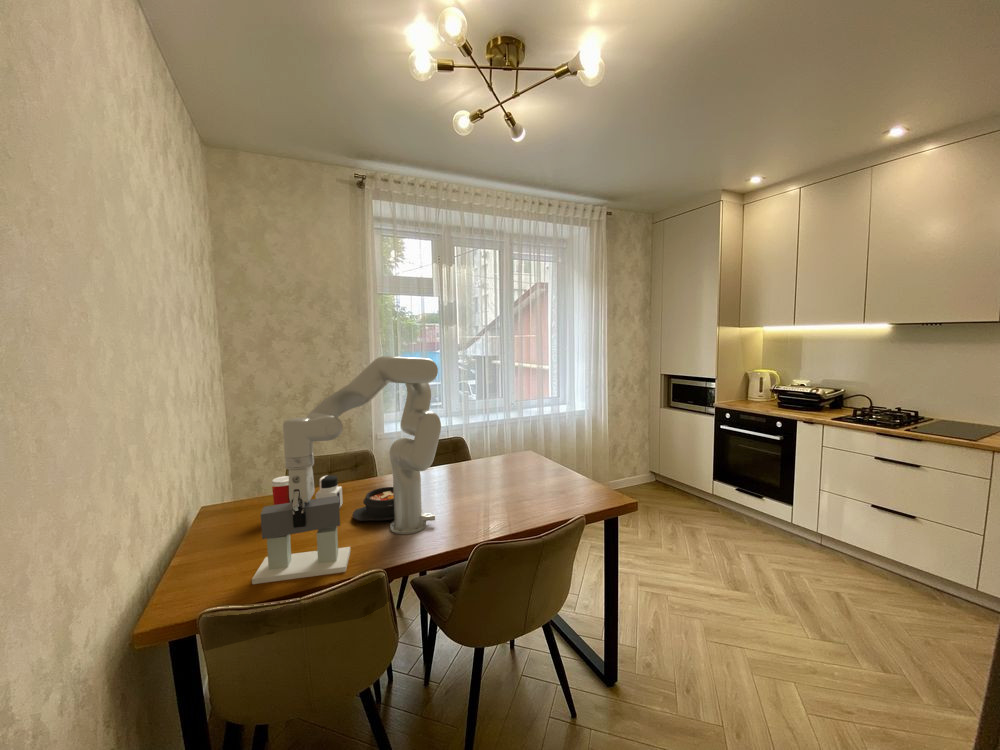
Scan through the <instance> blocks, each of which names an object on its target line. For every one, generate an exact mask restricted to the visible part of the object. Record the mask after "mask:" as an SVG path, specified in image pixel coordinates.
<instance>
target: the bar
mask: <svg viewBox="0 0 1000 750" xmlns="http://www.w3.org/2000/svg"><path fill="white" fill-rule="evenodd" d="M299 502H302V501H299ZM292 505H293V504H291V503H285V504H278V505H274V504H273V505H272V504H271V505H266V506H263V507H262V510H261V512H260V526H261V528H260V529H261V540H265V539H266V540H267V538H272V537H278V536H284V535H289V534H290V535H295V534H301V533H305V532H311V531H316V530H317V531H318V529H324V528H329V527H335V526H337V527H339V526H341V517H340V516H341V515H340V508H339V496H332V497H325V498H318V499H316V498H315V499H314V498H311V499H310V501H309V502H308V503H306V502H305V505H304V512H306V526H305V527H297V528H294V527H293V507H292ZM299 506H300V507H302V504H299Z"/></svg>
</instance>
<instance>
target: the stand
mask: <svg viewBox="0 0 1000 750" xmlns="http://www.w3.org/2000/svg"><path fill="white" fill-rule="evenodd" d="M338 535H339V534H338V526H335V527H329V528H324V529H318V530H317V532H316V548H317V550H313V551H305V552H295V553H292V547H291V546H292V545H291V534H289V535H284V536H278V537H272V538H266V546H267V547H266V548H267V556H265V557H264V559H263V561H262V563H261V564H260V565H259V567H258V568H257V570H256V572H255V574H254V575H253V576H252V578H251V584H252V585H257V584H264V583H265V584H266V583H271V582H280V581H288V580H295V579H301V578H302V579H303V578H310V577H317V576H325V575H333V574H339V573H345V572H347V569H348V568H347V567H348V564H349V560H350V555H351V552H352V551H351V546H347V547H345V546H344V547H339V539H338Z"/></svg>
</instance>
